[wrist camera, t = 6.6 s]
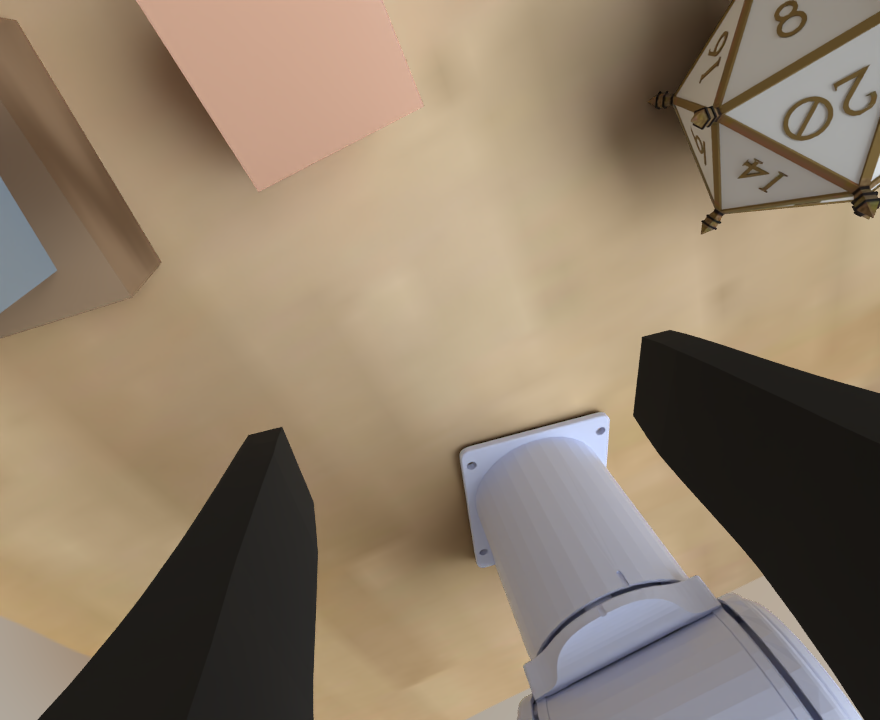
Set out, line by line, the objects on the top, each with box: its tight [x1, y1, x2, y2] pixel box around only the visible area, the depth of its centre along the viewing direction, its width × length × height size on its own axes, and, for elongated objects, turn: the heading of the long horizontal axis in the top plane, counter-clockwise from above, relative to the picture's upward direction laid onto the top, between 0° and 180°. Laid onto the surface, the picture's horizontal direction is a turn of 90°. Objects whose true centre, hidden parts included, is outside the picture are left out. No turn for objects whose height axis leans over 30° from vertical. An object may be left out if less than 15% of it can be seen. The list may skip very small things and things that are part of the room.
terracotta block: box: [136, 0, 424, 192], centre depth 12 cm, size 4×4×5 cm
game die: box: [648, 0, 880, 234], centre depth 14 cm, size 9×8×10 cm
